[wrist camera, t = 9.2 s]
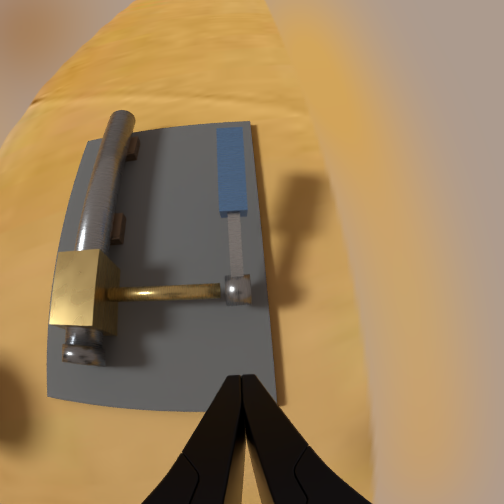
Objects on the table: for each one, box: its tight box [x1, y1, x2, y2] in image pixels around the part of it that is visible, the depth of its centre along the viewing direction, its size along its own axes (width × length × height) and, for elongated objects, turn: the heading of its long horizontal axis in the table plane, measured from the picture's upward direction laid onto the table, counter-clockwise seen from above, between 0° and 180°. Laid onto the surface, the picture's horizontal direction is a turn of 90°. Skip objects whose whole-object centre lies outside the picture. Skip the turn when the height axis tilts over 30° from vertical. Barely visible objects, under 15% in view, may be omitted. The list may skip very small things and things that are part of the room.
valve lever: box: [216, 127, 252, 306], centre depth 20 cm, size 2×2×12 cm
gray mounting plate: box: [47, 121, 277, 412], centre depth 23 cm, size 26×18×1 cm
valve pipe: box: [49, 110, 221, 367], centre depth 22 cm, size 23×12×4 cm, turn 4°
